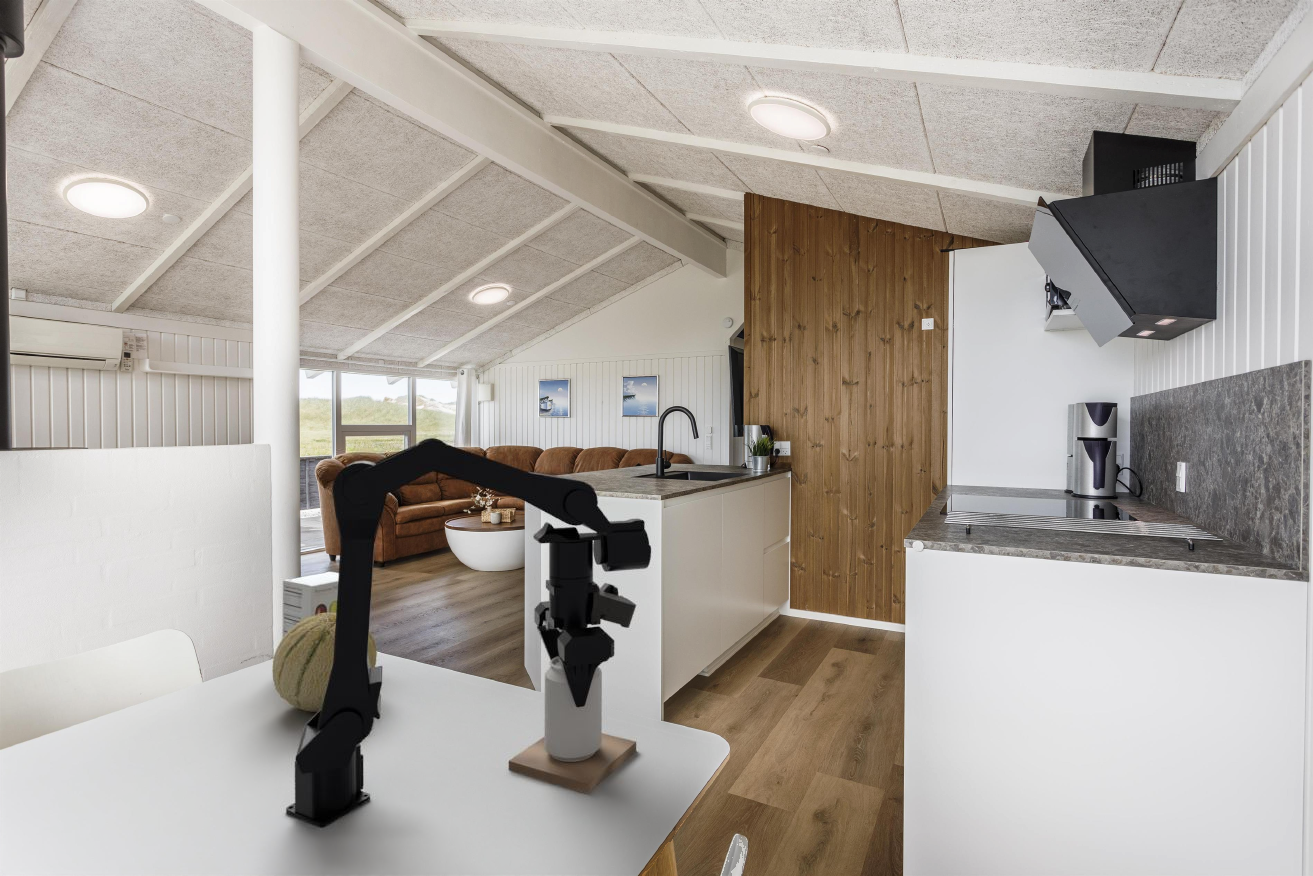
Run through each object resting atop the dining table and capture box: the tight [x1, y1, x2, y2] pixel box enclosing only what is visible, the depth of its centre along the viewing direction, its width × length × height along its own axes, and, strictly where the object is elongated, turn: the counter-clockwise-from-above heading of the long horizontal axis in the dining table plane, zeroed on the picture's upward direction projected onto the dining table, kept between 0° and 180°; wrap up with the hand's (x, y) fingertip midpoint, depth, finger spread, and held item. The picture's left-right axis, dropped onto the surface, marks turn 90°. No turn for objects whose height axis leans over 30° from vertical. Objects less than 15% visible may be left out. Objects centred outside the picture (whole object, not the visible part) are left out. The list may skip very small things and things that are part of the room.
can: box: [544, 657, 603, 762], centre depth 87 cm, size 8×8×12 cm
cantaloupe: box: [271, 613, 378, 713], centre depth 103 cm, size 15×15×15 cm
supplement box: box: [282, 571, 339, 638], centre depth 119 cm, size 10×9×17 cm
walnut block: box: [508, 733, 637, 795], centre depth 87 cm, size 12×12×2 cm
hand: (571, 693), depth 87 cm, fingers open, 9 cm apart
